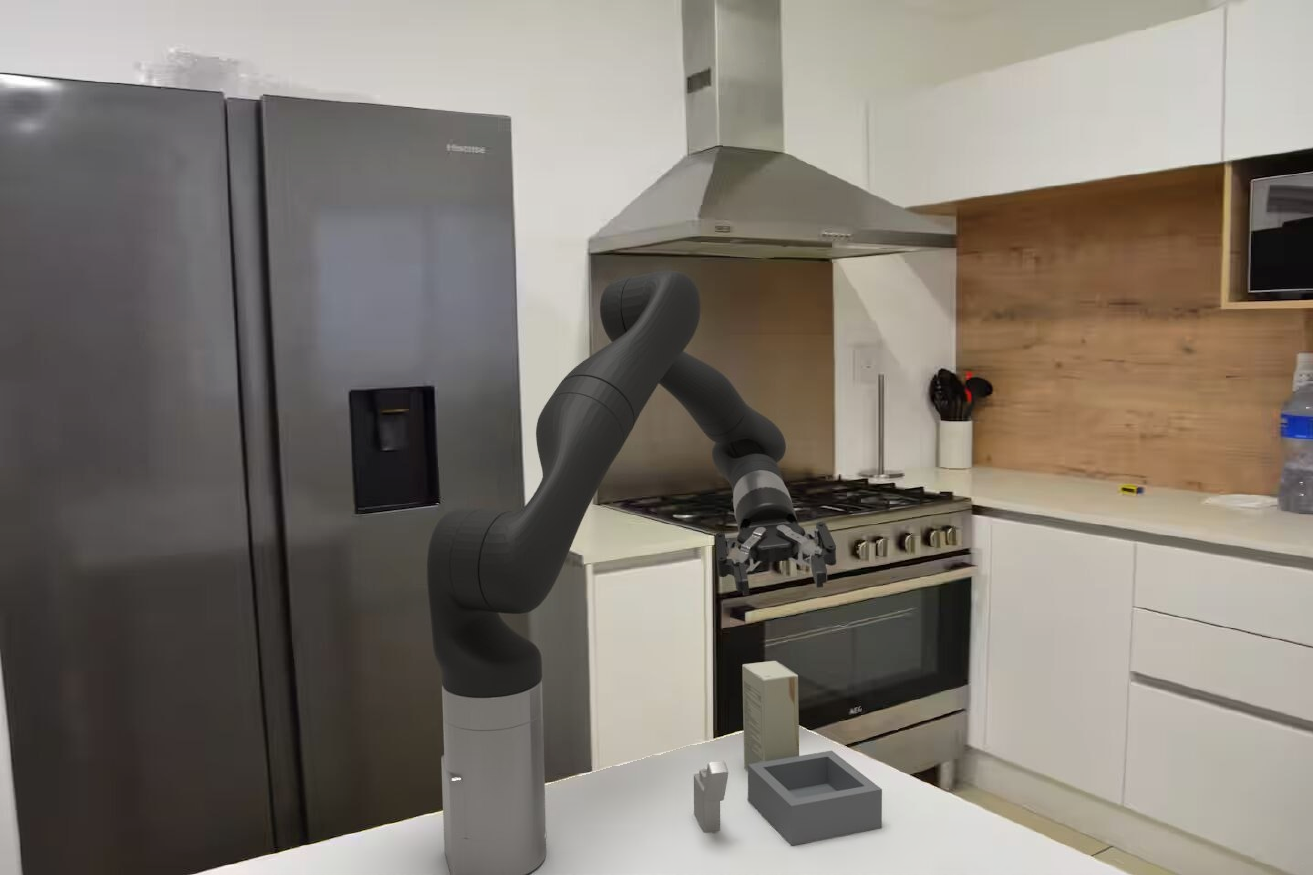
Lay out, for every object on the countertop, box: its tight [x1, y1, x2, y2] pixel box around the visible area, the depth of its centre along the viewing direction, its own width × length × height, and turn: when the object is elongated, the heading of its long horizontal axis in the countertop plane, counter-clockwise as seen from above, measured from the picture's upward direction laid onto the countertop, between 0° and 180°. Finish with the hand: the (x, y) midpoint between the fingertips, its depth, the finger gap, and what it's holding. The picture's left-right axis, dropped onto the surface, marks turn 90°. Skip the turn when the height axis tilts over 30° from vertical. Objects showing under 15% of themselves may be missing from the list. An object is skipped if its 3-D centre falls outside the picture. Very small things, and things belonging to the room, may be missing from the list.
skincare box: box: [741, 660, 800, 772], centre depth 110 cm, size 6×4×12 cm
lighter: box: [693, 760, 729, 834], centre depth 98 cm, size 7×2×8 cm, turn 12°
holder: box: [747, 750, 883, 847], centre depth 101 cm, size 10×10×4 cm
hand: (783, 585), depth 113 cm, fingers open, 8 cm apart
